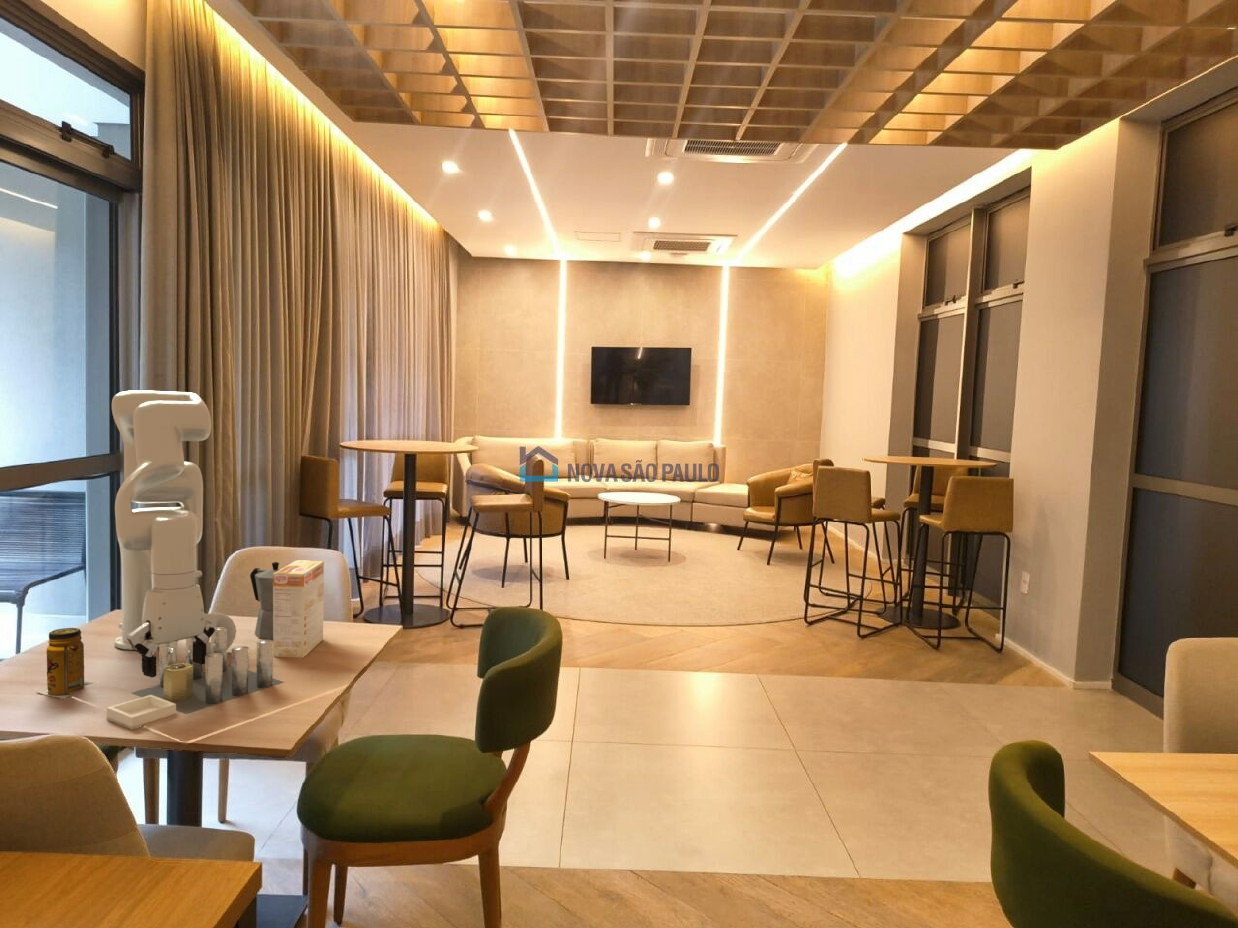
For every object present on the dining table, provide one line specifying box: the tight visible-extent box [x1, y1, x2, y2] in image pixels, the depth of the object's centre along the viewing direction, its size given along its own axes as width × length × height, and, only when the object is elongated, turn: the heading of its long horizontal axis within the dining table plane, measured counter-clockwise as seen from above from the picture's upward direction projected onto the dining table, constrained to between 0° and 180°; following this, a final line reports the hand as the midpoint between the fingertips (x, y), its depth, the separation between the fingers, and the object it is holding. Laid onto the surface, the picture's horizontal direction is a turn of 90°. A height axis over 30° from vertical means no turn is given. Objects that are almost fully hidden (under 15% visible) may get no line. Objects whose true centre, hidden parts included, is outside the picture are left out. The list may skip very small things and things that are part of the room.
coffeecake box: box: [272, 559, 325, 659], centre depth 191 cm, size 15×7×20 cm, turn 2°
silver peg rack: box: [159, 627, 274, 705], centre depth 165 cm, size 18×14×9 cm
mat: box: [131, 664, 284, 715], centre depth 164 cm, size 18×21×1 cm
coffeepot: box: [249, 561, 281, 640], centre depth 202 cm, size 15×9×18 cm, turn 62°
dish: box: [106, 695, 177, 731], centre depth 149 cm, size 8×8×2 cm
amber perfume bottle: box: [163, 662, 193, 702], centre depth 158 cm, size 4×5×6 cm
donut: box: [204, 612, 237, 655], centre depth 184 cm, size 10×4×10 cm, turn 138°
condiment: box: [36, 627, 94, 699], centre depth 161 cm, size 7×8×12 cm
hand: (175, 669), depth 157 cm, fingers open, 9 cm apart
